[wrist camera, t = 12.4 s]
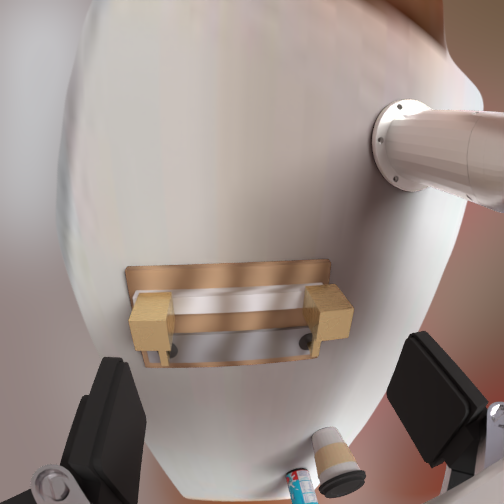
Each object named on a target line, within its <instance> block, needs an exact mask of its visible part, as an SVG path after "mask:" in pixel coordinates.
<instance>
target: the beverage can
mask: <svg viewBox="0 0 504 504" xmlns="http://www.w3.org/2000/svg"><path fill="white" fill-rule="evenodd" d="M286 479H287V483H288V488H289V492H290V496H291V500H292V504H318V501H317V498H316V494H315V491H314V488H313V484H312V481H311V478H310V474H309V471H308V470H307V469H304V468H300V469H295V470H292V471H290V472H288V473H287V475H286Z"/></svg>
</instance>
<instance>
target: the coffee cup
mask: <svg viewBox="0 0 504 504" xmlns="http://www.w3.org/2000/svg"><path fill="white" fill-rule="evenodd" d="M312 443H313V448H314V453H315V462H316V467H317V473H318V478H319V479H320V484H321V485H320V487H319V491H320V493H321V494H323V495H325V497H326V498H336V497H341V496H344V495H347V494H350V493H352V492H354V491H356V490H358V489H359V488H360V487H362V486H363V485H364V483H365V481H364V479H365V478H366V475H365V472H364V471H362V470H360V468H359V467H358V465H357V462H356V460H355V458H354V456H353V455H352V453H351V451H350V449H349V448H348V446H347V444H346V443H345V442H344V440H343V439H342V437H341V435H340V433H339V432H338V430H337V428H335V427H327V428H323V429H320V430H318V431H317V432H315V433H314V434H313V436H312Z"/></svg>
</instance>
